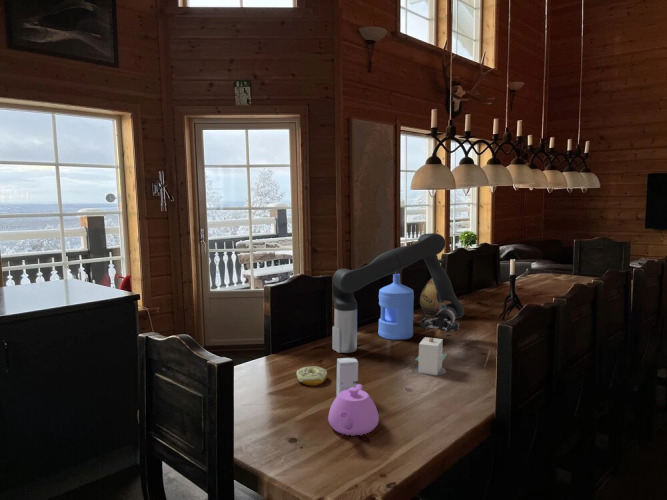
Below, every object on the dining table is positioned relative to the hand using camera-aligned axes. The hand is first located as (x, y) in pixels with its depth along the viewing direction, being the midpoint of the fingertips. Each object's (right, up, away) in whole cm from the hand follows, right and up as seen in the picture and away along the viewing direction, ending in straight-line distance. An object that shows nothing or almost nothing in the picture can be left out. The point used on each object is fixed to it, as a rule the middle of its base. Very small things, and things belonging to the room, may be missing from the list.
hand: (436, 328), depth 185 cm
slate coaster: (-4, -14, -9) cm, 17 cm away
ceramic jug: (+15, -5, +73) cm, 75 cm away
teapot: (-34, -19, -51) cm, 64 cm away
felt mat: (-1, -13, +5) cm, 14 cm away
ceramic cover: (-4, -14, -8) cm, 17 cm away
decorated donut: (-46, -15, -18) cm, 52 cm away
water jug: (-11, -9, +36) cm, 39 cm away
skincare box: (-35, -17, -32) cm, 50 cm away
